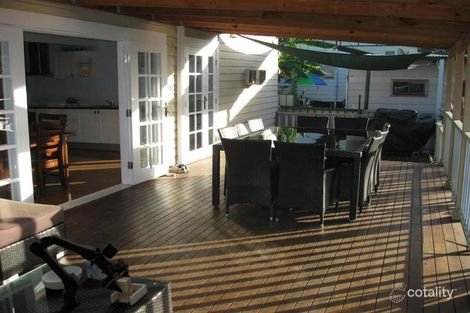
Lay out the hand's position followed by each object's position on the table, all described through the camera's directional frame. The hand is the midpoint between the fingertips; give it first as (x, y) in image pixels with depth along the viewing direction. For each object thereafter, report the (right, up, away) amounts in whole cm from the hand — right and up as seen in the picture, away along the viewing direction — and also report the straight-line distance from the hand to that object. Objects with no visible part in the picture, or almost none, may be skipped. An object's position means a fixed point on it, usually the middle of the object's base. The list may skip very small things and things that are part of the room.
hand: (127, 287), depth 231 cm
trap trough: (0, -6, +4) cm, 7 cm away
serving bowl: (-41, -6, +26) cm, 49 cm away
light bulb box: (-24, -3, +33) cm, 41 cm away
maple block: (-1, -7, +2) cm, 7 cm away
